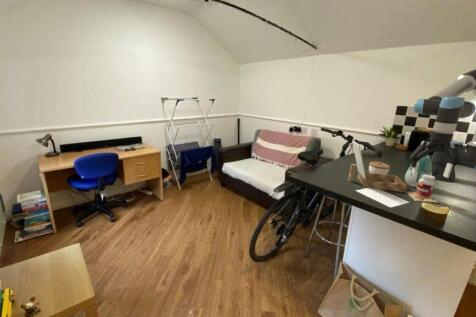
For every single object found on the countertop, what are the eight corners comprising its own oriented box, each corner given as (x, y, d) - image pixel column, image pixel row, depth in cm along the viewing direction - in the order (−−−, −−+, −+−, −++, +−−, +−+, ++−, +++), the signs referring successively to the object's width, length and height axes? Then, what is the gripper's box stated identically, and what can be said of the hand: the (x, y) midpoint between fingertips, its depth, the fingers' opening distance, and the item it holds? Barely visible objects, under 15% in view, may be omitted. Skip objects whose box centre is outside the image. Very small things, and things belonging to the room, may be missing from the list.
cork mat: (427, 194, 117) (427, 193, 117) (439, 204, 107) (439, 202, 107) (405, 192, 119) (406, 191, 118) (415, 201, 109) (415, 199, 109)
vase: (430, 192, 120) (440, 160, 115) (403, 186, 126) (412, 155, 121) (426, 185, 130) (436, 155, 124) (402, 180, 136) (410, 151, 130)
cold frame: (394, 182, 132) (398, 165, 129) (405, 192, 119) (410, 174, 116) (345, 176, 137) (348, 160, 134) (351, 185, 124) (355, 168, 121)
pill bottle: (411, 195, 114) (418, 174, 111) (418, 193, 117) (424, 173, 114) (426, 200, 109) (433, 179, 106) (432, 198, 112) (439, 177, 108)
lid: (353, 140, 130) (352, 140, 130) (359, 145, 117) (358, 145, 118) (359, 170, 134) (357, 171, 134) (365, 178, 122) (364, 179, 122)
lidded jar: (390, 180, 134) (394, 165, 131) (370, 178, 136) (373, 163, 133) (382, 174, 144) (386, 160, 141) (364, 172, 146) (367, 158, 143)
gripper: (469, 132, 104) (454, 175, 111) (408, 128, 109) (397, 169, 116) (482, 135, 97) (465, 181, 104) (416, 131, 102) (404, 175, 109)
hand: (429, 175), depth 110 cm, fingers open, 13 cm apart
